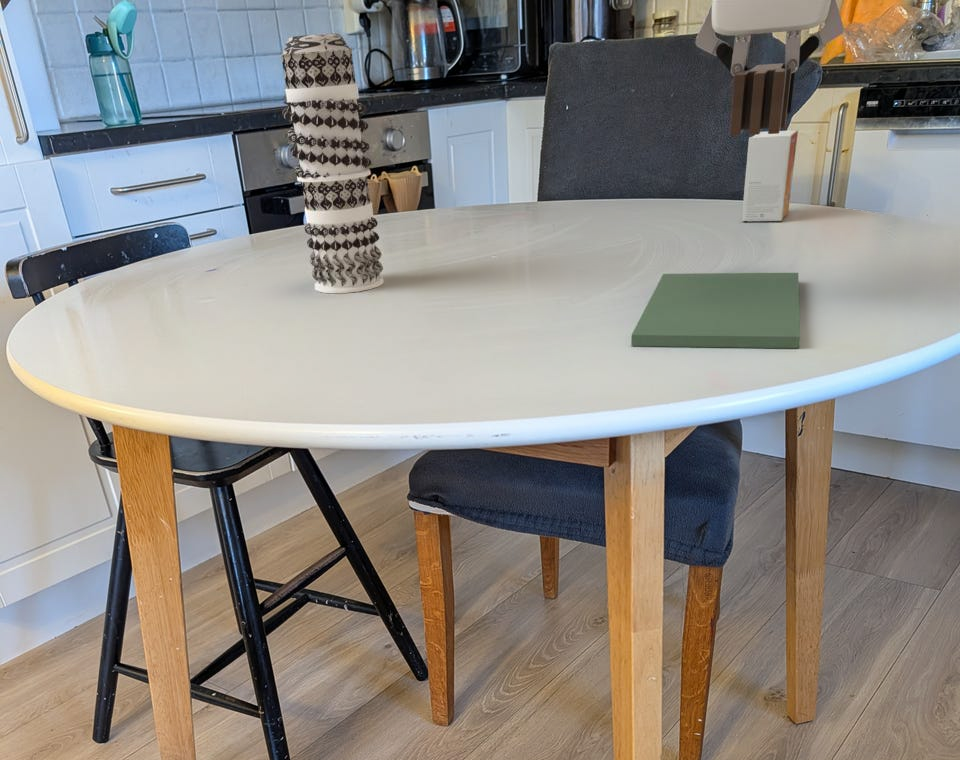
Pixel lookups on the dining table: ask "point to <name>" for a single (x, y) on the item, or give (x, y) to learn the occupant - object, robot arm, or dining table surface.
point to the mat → (722, 311)
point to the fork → (760, 99)
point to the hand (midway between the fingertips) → (759, 122)
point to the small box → (769, 176)
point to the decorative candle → (331, 162)
